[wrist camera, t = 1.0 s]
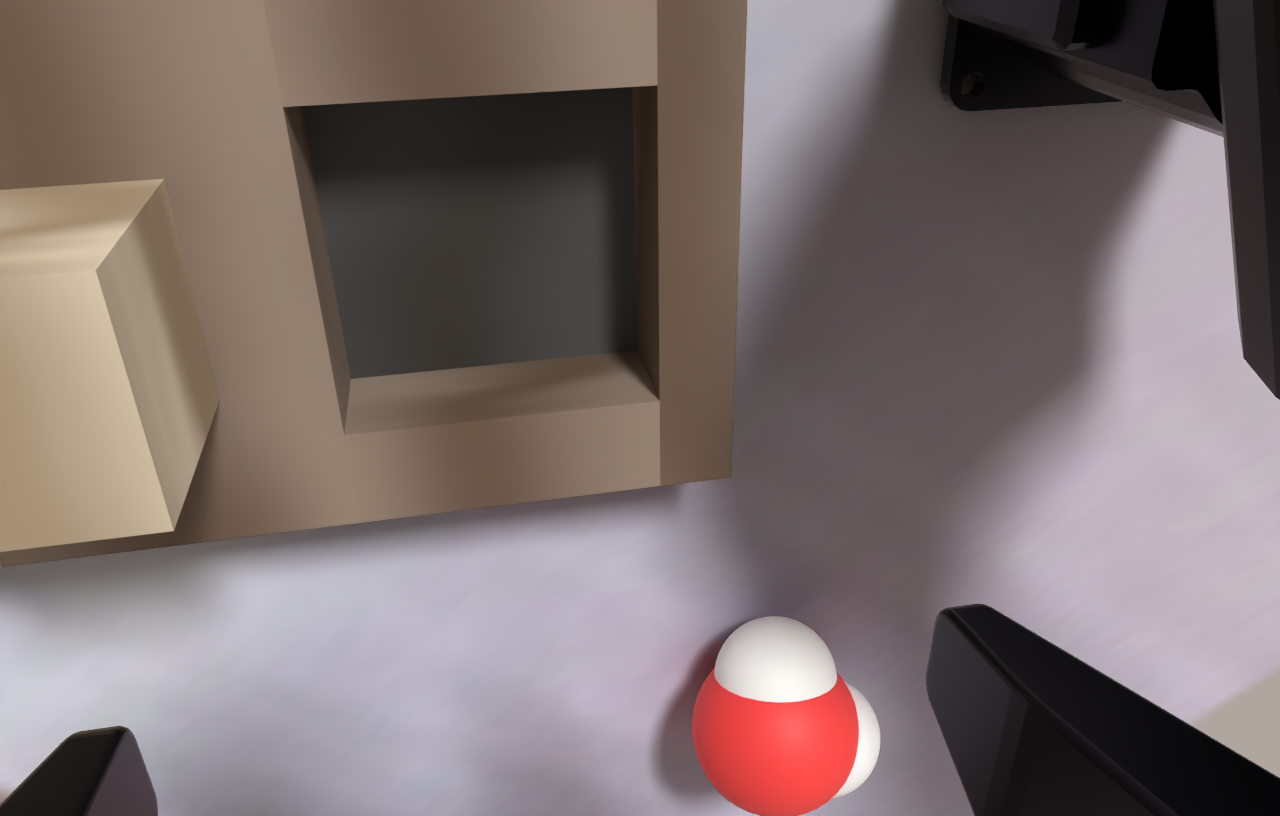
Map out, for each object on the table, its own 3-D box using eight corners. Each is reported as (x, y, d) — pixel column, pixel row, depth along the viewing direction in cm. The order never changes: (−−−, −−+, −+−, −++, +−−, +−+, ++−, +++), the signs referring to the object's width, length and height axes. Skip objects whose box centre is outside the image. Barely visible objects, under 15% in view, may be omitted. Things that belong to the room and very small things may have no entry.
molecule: (650, 713, 27) (686, 846, 24) (724, 576, 26) (776, 696, 22) (805, 740, 29) (860, 866, 26) (885, 612, 27) (958, 730, 24)
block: (163, 178, 16) (95, 270, 13) (219, 399, 18) (173, 531, 14) (-114, 197, 15) (-267, 299, 12) (-25, 424, 17) (-133, 567, 14)
